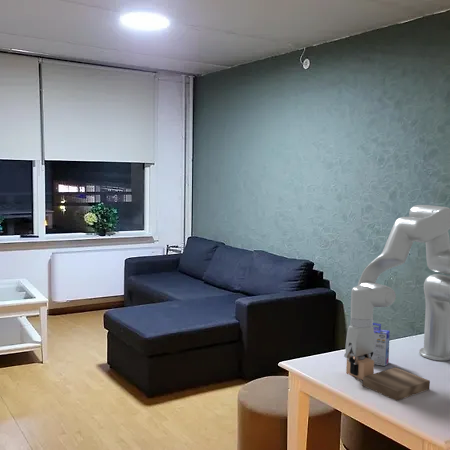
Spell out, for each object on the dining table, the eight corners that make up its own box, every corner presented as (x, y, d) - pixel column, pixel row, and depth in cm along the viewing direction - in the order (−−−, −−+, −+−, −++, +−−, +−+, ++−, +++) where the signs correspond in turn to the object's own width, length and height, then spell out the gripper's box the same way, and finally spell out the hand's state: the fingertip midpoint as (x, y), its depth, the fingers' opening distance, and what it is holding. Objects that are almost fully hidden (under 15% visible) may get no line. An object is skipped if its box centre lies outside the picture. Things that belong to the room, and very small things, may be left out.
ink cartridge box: (389, 362, 204) (390, 324, 202) (386, 366, 199) (387, 328, 197) (362, 357, 208) (364, 320, 207) (359, 362, 204) (360, 324, 202)
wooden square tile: (395, 375, 191) (395, 367, 190) (429, 389, 179) (429, 380, 179) (362, 385, 182) (363, 376, 182) (396, 400, 170) (397, 391, 170)
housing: (356, 370, 196) (356, 351, 195) (373, 377, 189) (374, 357, 188) (346, 372, 193) (346, 353, 192) (363, 380, 186) (364, 360, 186)
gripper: (370, 315, 197) (368, 364, 199) (335, 323, 188) (334, 374, 190) (386, 321, 190) (384, 371, 193) (351, 328, 181) (350, 381, 183)
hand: (359, 372), depth 191 cm, fingers closed on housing, 5 cm apart
